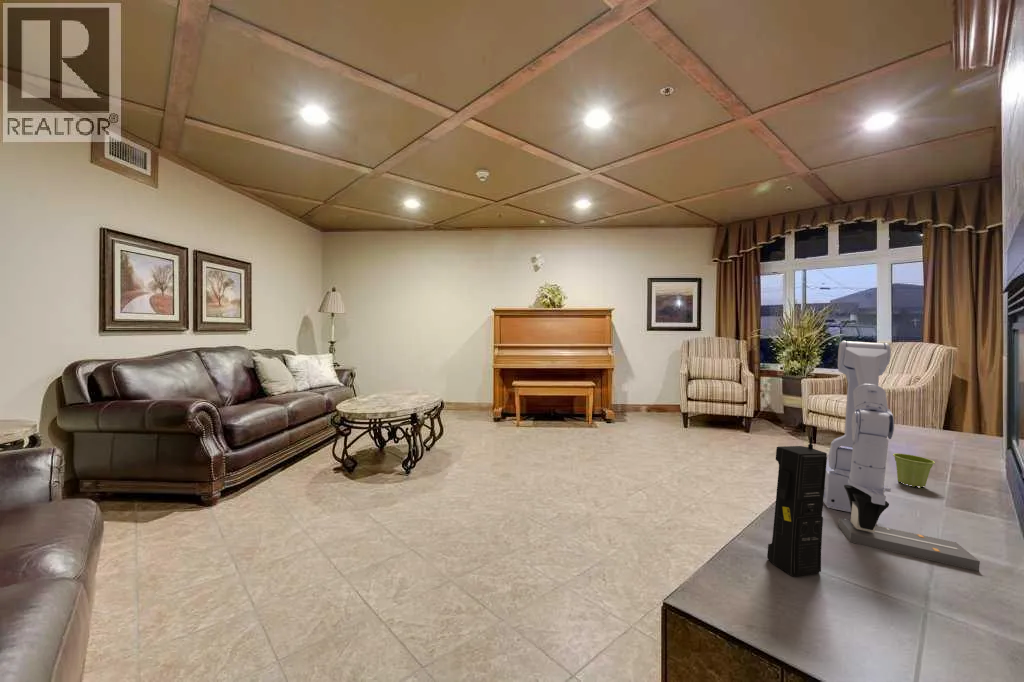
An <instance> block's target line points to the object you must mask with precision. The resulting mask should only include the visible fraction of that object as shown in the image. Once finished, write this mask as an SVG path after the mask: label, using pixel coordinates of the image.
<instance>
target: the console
mask: <svg viewBox="0 0 1024 682" xmlns="http://www.w3.org/2000/svg"><path fill="white" fill-rule="evenodd" d="M838 518H839V519H838V527H839V529H840V530H841V532H842V533H843V534H844V535H845V536H846V538H847V539H848V541H849V542H850V543H853V544H859V545H861V546H862V545H863V546H867V547H870V548H875V549H880V550H884V551H887V552H893V553H898V554H901V555H906V556H910V557H914V558H919V559H923V560H928V561H933V562H937V563H941V564H946V565H949V566H954V567H959V568H964V569H968V570H971V571H977V572H979V571H980V564H981V561H980V560H979V559H978V558H977V557H975V556H974V555H973V554H971V553H970V552H969V551H968V550H966V549H965V548H964V547H963V546H962V545H960V544H959V543H958V542H957V541H952V540H946V539H942V538H939V537H938V538H937V537H932V536H928V535H925V534H924V535H923V534H918V533H914V532H908V531H904V530H898V529H893V528H890V527H885V526H881V525H880V526H879V525H877V524H876V525H875V531H874V533H873V532H868V531H863V530H859V529H856V527H855V526H854V525H853V524H852V523H851V519H848V518H847V519H846V518H841V517H838Z"/></svg>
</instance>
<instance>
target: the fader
mask: <svg viewBox="0 0 1024 682" xmlns="http://www.w3.org/2000/svg"><path fill="white" fill-rule="evenodd" d="M850 520H851V523H852V524H853V525H854V526H855V527H856V529H859V530H863V531H868V532H873V533H874V531H875V527H874V529H873V530H869V529H864V528H861V527H860V525H859V518H858V508H857V504H856V502H854V501H852V512H850Z"/></svg>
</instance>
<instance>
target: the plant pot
mask: <svg viewBox="0 0 1024 682" xmlns="http://www.w3.org/2000/svg"><path fill="white" fill-rule="evenodd" d="M892 456H893V457H894V460H895V466H896V467H895V468H896V474H897V476H896V477H897V482H898V481H899V482H902V483H904V484H908V485H912V487H915V486H920V487H923V486H925V487H926V485H927V482H928V478H929V475H930V471H931V469H932V468H933V466H934V465H935V463H936V462H935V461H934V460H932V459H929V458H926V457H922V456H919V455H918V456H917V455H913V454H906V453H893V454H892ZM899 482H898V483H899Z"/></svg>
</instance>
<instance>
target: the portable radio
mask: <svg viewBox="0 0 1024 682" xmlns="http://www.w3.org/2000/svg"><path fill="white" fill-rule="evenodd" d="M814 437H815V436H813V435H809V444H808V445H807V446H802V445H790V446H788V445H787V446H786V445H785V446H776V449H775V450H776V451H775V461H777V463H778V472H777V473H778V474H777V485H776V496H775V497H776V498H775V506H774V507H775V508H774V516H773V517H774V519H773V528H772V538H771V539H772V540H771V543H768V545H767V553H766V554H767V555H766V557H767V560H768V561H770V562H771V563H772V564H773V565H774V566H776V567H777V568H779V569H780V570H782V571H784V572H785V573H787V574H788V575H789V576H791V577H800V576H806V575H807V576H808V575H813V574H815V575H816V574H819V573H821V571H822V545H823V544H822V543H823V542H822V541H823V526H824V523H823V522H824V516H823V509H824V508H823V506H824V502H823V496H824V487H825V476H826V471H827V463H828V462H827V461H828V458H827V456H828V455H827V454H828V453H827V452H824V451H822V450H818V449H816V448H814V445H813V438H814Z"/></svg>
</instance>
